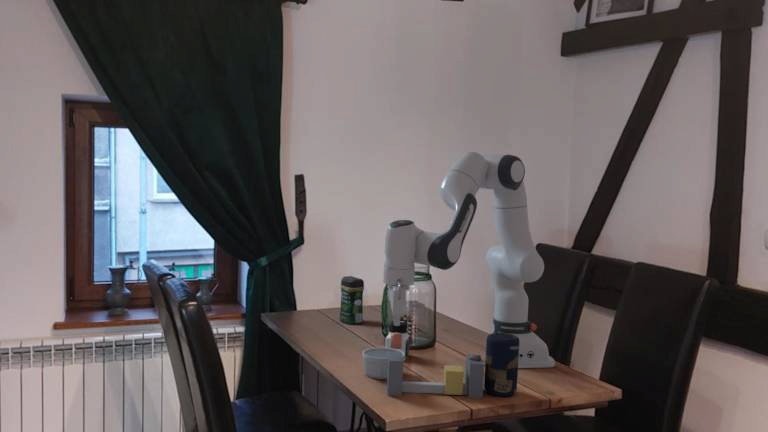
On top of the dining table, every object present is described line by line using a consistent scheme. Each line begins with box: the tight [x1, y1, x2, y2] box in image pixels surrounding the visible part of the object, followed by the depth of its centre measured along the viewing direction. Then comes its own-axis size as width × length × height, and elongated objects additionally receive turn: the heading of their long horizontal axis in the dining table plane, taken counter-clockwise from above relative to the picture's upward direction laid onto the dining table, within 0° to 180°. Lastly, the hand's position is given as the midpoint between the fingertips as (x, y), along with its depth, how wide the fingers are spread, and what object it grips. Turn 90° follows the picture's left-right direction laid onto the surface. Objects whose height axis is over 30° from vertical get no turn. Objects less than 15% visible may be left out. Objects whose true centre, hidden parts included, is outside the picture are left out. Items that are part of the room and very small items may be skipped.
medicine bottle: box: [384, 320, 411, 361], centre depth 240 cm, size 7×7×12 cm
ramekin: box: [362, 347, 405, 380], centre depth 220 cm, size 13×13×7 cm
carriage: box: [442, 365, 465, 396], centre depth 205 cm, size 5×6×7 cm
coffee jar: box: [339, 275, 365, 325], centre depth 287 cm, size 10×8×19 cm
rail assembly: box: [386, 352, 485, 399], centre depth 205 cm, size 27×9×11 cm, turn 91°
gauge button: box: [391, 332, 402, 349], centre depth 204 cm, size 3×3×4 cm
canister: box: [483, 332, 520, 397], centre depth 206 cm, size 10×10×18 cm
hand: (396, 324), depth 204 cm, fingers closed
